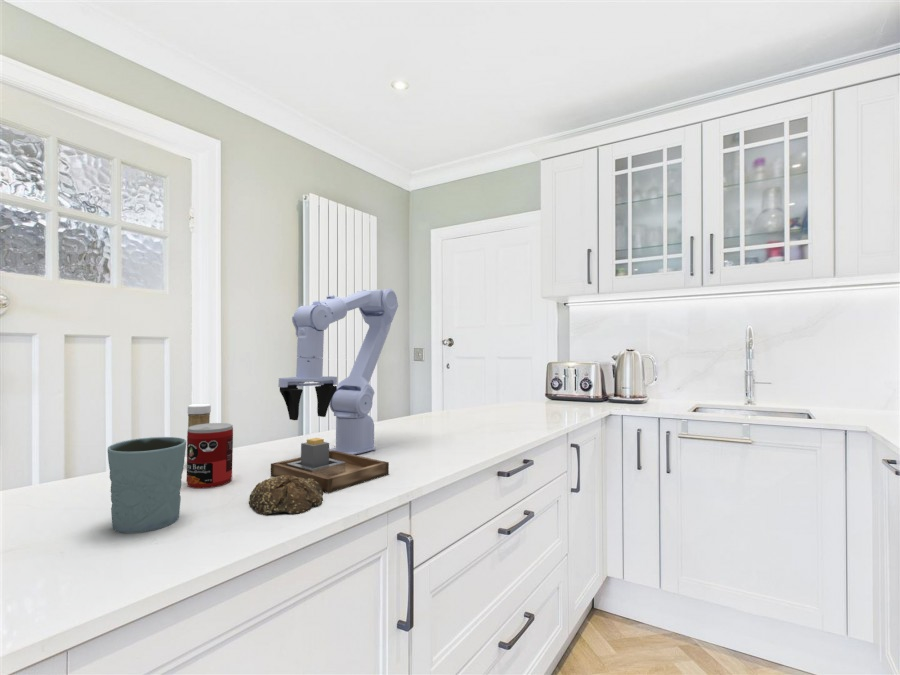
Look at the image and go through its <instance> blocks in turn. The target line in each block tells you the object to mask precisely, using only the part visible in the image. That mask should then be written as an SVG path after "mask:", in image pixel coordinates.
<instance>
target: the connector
mask: <svg viewBox="0 0 900 675" xmlns="http://www.w3.org/2000/svg"><path fill="white" fill-rule="evenodd" d="M324 440H325V439H324V438H319V437H313V438H308V439H306V442H302V443H300V445H301V446H300V457H301V465H303V466H307V467H311V468H317V467H321V466H325V465H329V449H330V443H329V442H327V441H324Z"/></svg>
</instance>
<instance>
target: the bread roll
mask: <svg viewBox="0 0 900 675" xmlns="http://www.w3.org/2000/svg"><path fill="white" fill-rule="evenodd" d="M323 496H324V492H323V491H322V488H321V486H320V485H319V483H318V482H316V481H314V479H305V478H298V477H295V476H288V475H281V476H278V477H273V476H270V478H268V479H265V480H262V481H260V482H258V483H257V484H256V485H255V487H254V488H253V489H252V491H251V493H250V494H249V497H248V500H249V501H248V504H249V505H250V508H251V509H253V510H254V511H255V512H257V514H260V515H262V514H263V516H264V515H265V516H268V515H271V514H278V513H288V514H290V515H300V513H301V514H305V513H306V511H307V512H309V511H310V510H312V508H316V507H318V505H319V506H321V505H322V504H323V502H324V497H323ZM322 501H323V502H322ZM315 506H316V507H315ZM308 510H309V511H308Z"/></svg>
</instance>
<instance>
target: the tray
mask: <svg viewBox="0 0 900 675" xmlns="http://www.w3.org/2000/svg"><path fill="white" fill-rule="evenodd" d="M329 458H330V459H334V460H339V461H343V462H346V472H343V473H339V474H336V475H332V476H328V477H326V476H322V475H319V474H315V473H311V472H308V471H304V470H300V469H296V468H293V467H289V466H287V463H292V462H296V461H300V460H301V456H300V457H295V458H291V459H284V460H281V461H277V462H276V461H275V462H273V463H272V462H271V463H270V477H278V476H281V475H288V476H295V477H298V478H305V479H314V481H316V482H318V483H319V485H320V486H321V488H322V491H323V493H325V494H328V493H333V492H335V491H336V492H337V491H339V490H341V489H345V488H349V487H351V486H355V485H358V483H359V484H362V483H364V481H365V482H368V481H370V480H371V479H372V480H375V479H377V477H378V478H381V477H384V475H385V476H388V475H389V474H390V472H389V469H390V468H389V467H390V466H389V465H390V464H389V463H390V462H388V461H383V460H379V459H374V458H370V457H367V456H366V457H365V456H363V455H362V456H361V455H358V454H355V455H353V454H348V453H343V452H339V451H334V450H331V451H329ZM374 478H375V479H374ZM361 482H362V483H361ZM348 486H349V487H348Z"/></svg>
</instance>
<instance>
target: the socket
mask: <svg viewBox="0 0 900 675" xmlns="http://www.w3.org/2000/svg"><path fill="white" fill-rule="evenodd" d="M287 466H289V467H293V468H296V469H300V470H304V471H308V472H311V473H315V474H319V475H322V476H326V477H328V476H332V475H336V474H339V473H343V472H346V462H343V461H339V460H334V459H330V458H329V465H325V466H321V467H317V468H311V467H307V466H303V465H301V460H300V461H296V462H292V463H287Z"/></svg>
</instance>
